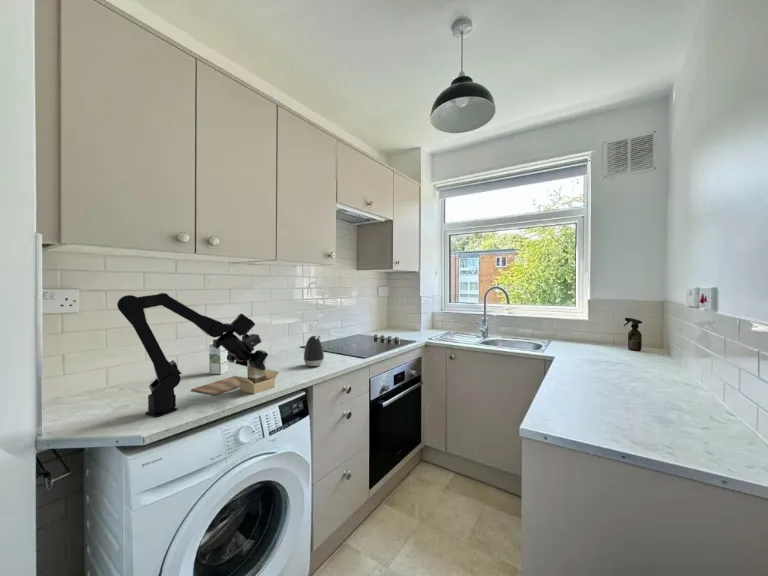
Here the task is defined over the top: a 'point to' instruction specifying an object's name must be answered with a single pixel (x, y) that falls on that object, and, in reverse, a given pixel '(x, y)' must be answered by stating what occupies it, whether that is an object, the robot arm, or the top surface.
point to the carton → (258, 387)
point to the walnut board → (219, 386)
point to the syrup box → (217, 359)
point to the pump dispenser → (313, 352)
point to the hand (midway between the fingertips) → (260, 368)
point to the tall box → (256, 373)
